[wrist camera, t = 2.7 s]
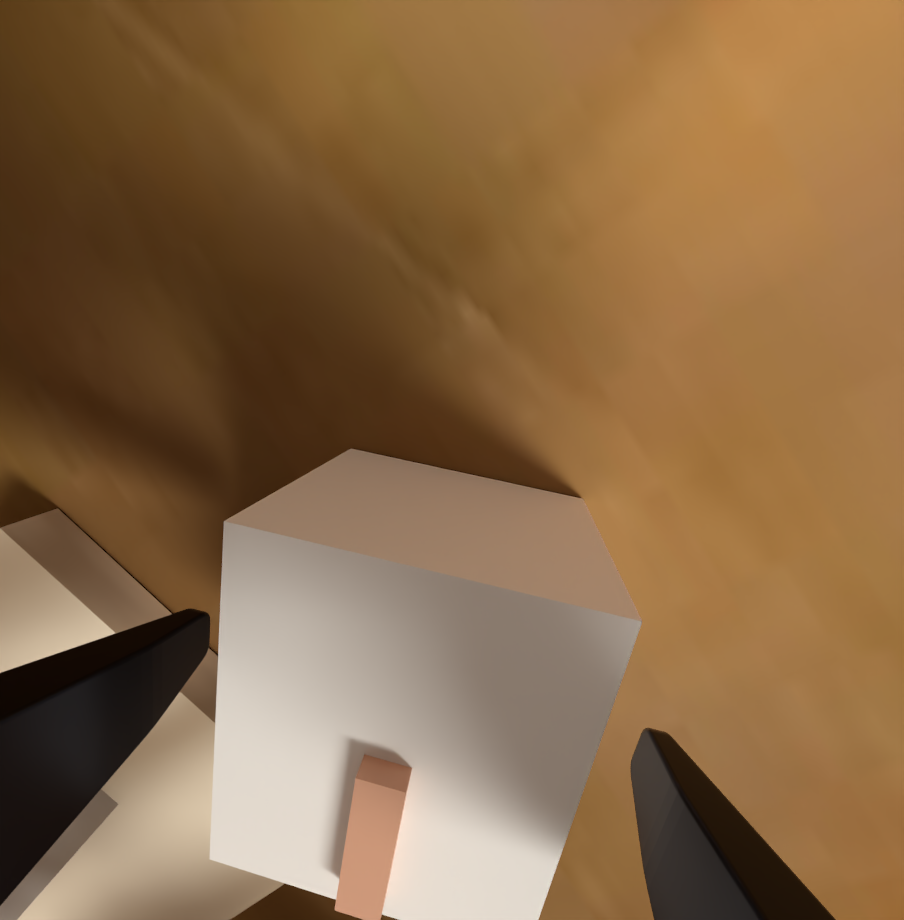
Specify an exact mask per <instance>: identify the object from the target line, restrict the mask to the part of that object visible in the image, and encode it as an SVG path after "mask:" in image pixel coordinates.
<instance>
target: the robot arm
mask: <svg viewBox="0 0 904 920" xmlns="http://www.w3.org/2000/svg"><path fill="white" fill-rule="evenodd" d="M209 638H210V616H209V614H208V613H206V612H203V611H200V610H196V609H186V610H183V611H180V612H177V613H174V614H171V615H168V616H165V617H162V618H159V619H156V620H153V621H150V622H148V623H145V624H142V625H139V626H136V627H133V628H130V629H127V630H124V631H121V632H118V633H115V634H112V635H109V636H107V637H104V638H101V639H98V640H95V641H92V642H89V643H86V644H83V645H80V646H77V647H74V648H71V649H68V650H66V651H63V652H60V653H57V654H54V655H51V656H48V657H45V658H42V659H39V660H36V661H33V662H30V663H27V664H24V665H22V666H19V667H16V668H13V669H10V670H7V671H4V672H1V673H0V906H1V905H2V904H3V902H4V901H5V900H6V899H7V898H8V897H9V895H10V894H11V893H12V892H13V891H14V890H15V889H16V887H17V886H18V885H19V884H20V883H21V882H22V880H23V879H24V878H25V877H26V876H27V875H28V873H29V872H30V871H31V870H32V869H33V868H34V866H35V865H36V864H37V863H38V862H39V861H40V859H41V858H42V857H43V856H44V855H45V854H46V852H47V851H48V850H49V849H50V848H51V847H52V845H53V844H54V843H55V842H56V841H57V840H58V839H59V837H60V836H61V835H62V834H63V833H64V832H65V830H66V829H67V828H68V827H69V826H70V825H71V823H72V822H73V821H74V820H75V819H76V818H77V816H78V815H79V814H80V813H81V812H82V811H83V809H84V808H85V807H86V806H87V805H88V804H89V802H90V801H91V800H92V799H93V798H94V797H95V795H96V794H97V793H98V792H99V791H100V790H101V788H102V787H103V786H104V785H105V784H106V783H107V782H108V780H109V779H110V778H111V777H112V776H113V775H114V773H115V772H116V771H117V770H118V769H119V768H120V766H121V765H122V764H123V763H124V762H125V761H126V759H127V758H128V757H129V756H130V755H131V754H132V752H133V751H134V750H135V749H136V748H137V747H138V745H139V744H140V743H141V742H142V741H143V740H144V738H145V737H146V736H147V735H148V734H149V732H150V731H151V730H152V729H153V728H154V726H155V725H156V724H157V722H158V721H159V720H160V718H161V717H162V716H163V714H164V713H165V712H166V710H167V709H168V707H169V706H170V705H171V703H172V702H173V700H174V699H175V698H176V696H177V695H178V694H179V692H180V691H181V689H182V688H183V687H184V685H185V684H186V682H187V681H188V680H189V678H190V677H191V676H192V674H193V673H194V671H195V670H196V669H197V667H198V666H199V664H200V663H201V662H202V660H203V659H204V657H205V656H206V654H207V651H208V648H209ZM631 780H632V787H633V795H634V803H635V810H636V818H637V825H638V833H639V841H640V848H641V856H642V862H643V869H644V874H645V879H646V884H647V889H648V894H649V898H650V903H651V907H652V912H653V916H654V920H836V919H835V918H834V917H833V916H832V915H831V914H830V913H829V912H828V911H827V909H826V908H825V907H824V906H823V905H822V904H821V903H820V902H819V901H818V899H817V898H816V897H815V896H814V895H813V894H812V893H811V892H810V891H809V889H808V888H807V887H806V886H805V885H804V884H803V883H802V882H801V880H800V879H799V878H798V877H797V876H796V875H795V874H794V873H793V872H792V870H791V869H790V868H789V867H788V866H787V865H786V864H785V863H784V862H783V860H782V859H781V858H780V857H779V856H778V855H777V854H776V853H775V852H774V850H773V849H772V848H771V847H770V846H769V845H768V844H767V843H766V841H765V840H764V839H763V838H762V837H761V836H760V835H759V834H758V833H757V831H756V830H755V829H754V828H753V827H752V826H751V825H750V824H749V823H748V821H747V820H746V819H745V818H744V817H743V816H742V815H741V814H740V813H739V811H738V810H737V809H736V808H735V807H734V806H733V805H732V804H731V802H730V801H729V800H728V799H727V798H726V797H725V796H724V795H723V794H722V792H721V791H720V790H719V789H718V788H717V787H716V786H715V785H714V784H713V782H712V781H711V780H710V779H709V778H708V777H707V776H706V775H705V774H704V772H703V771H702V770H701V769H700V768H699V767H698V766H697V765H696V763H695V762H694V761H693V760H692V759H691V758H690V757H689V756H688V755H687V753H686V752H685V751H684V750H683V749H682V748H681V747H680V746H679V745H678V743H677V742H676V741H675V740H674V739H673V738H672V737H671V736H670V735H669V734H668V733H666V732H663V731H659V730H655V729H651V728H645V729H644V730H643V731H642V733H641V736H640V739H639V741H638V744H637V746H636V749H635V752H634V754H633V757H632V760H631Z"/></svg>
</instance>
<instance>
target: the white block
mask: <svg viewBox="0 0 904 920" xmlns="http://www.w3.org/2000/svg"><path fill="white" fill-rule="evenodd" d="M641 624H642V620H641V618H640V616H639V614H638V612H637V610H636V607H635V605H634V603H633V601H632V599H631V597H630V595H629V593H628V591H627V589H626V587H625V585H624V583H623V581H622V578H621V576H620V574H619V572H618V570H617V568H616V566H615V564H614V562H613V560H612V558H611V556H610V554H609V551H608V549H607V547H606V545H605V543H604V541H603V539H602V537H601V535H600V533H599V531H598V529H597V527H596V525H595V522H594V520H593V518H592V516H591V514H590V512H589V510H588V508H587V506H586V504H585V502H584V500H583V499H582V498H577V497H573V496H568V495H563V494H559V493H554V492H550V491H545V490H540V489H536V488H531V487H526V486H522V485H517V484H513V483H508V482H503V481H499V480H494V479H490V478H485V477H480V476H476V475H471V474H466V473H462V472H457V471H453V470H448V469H443V468H439V467H434V466H430V465H425V464H420V463H416V462H411V461H407V460H402V459H397V458H393V457H388V456H383V455H379V454H374V453H370V452H365V451H360V450H356V449H349V450H347V451H346V452H344V453H342V454H340V455H339V456H337V457H335V458H333V459H332V460H330V461H328V462H326V463H325V464H323V465H321V466H319V467H318V468H316V469H314V470H312V471H311V472H309V473H307V474H305V475H304V476H302V477H300V478H298V479H297V480H295V481H293V482H291V483H290V484H288V485H286V486H284V487H283V488H281V489H279V490H277V491H276V492H274V493H272V494H270V495H269V496H267V497H265V498H263V499H262V500H260V501H258V502H256V503H255V504H253V505H251V506H249V507H248V508H246V509H244V510H242V511H241V512H239V513H237V514H235V515H234V516H232V517H230V518H228V519H227V520H225V521H224V530H223V553H222V577H221V600H220V624H219V647H218V671H217V694H216V717H215V741H214V764H213V788H212V811H211V835H210V858H209V859H210V860H213V861H216V862H219V863H223V864H226V865H229V866H232V867H235V868H238V869H241V870H244V871H248V872H251V873H254V874H257V875H260V876H263V877H266V878H270V879H273V880H276V881H279V882H282V883H285V884H288V885H291V886H295V887H298V888H301V889H304V890H307V891H310V892H313V893H317V894H320V895H323V896H326V897H329V898H332V899H335V900H336V904H335V911H338V912H341V913H344V914H347V915H351V916H354V917H357V918H360V919H363V920H381V915H385V916H389V917H392V918H395V919H398V920H538V919H539V916H540V913H541V910H542V907H543V905H544V902H545V899H546V896H547V893H548V890H549V887H550V884H551V882H552V879H553V876H554V873H555V870H556V867H557V864H558V862H559V859H560V856H561V853H562V850H563V847H564V844H565V841H566V839H567V836H568V833H569V830H570V827H571V824H572V821H573V819H574V816H575V813H576V810H577V807H578V804H579V801H580V798H581V796H582V793H583V790H584V787H585V784H586V781H587V778H588V776H589V773H590V770H591V767H592V764H593V761H594V758H595V755H596V753H597V750H598V747H599V744H600V741H601V738H602V735H603V733H604V730H605V727H606V724H607V721H608V718H609V715H610V712H611V710H612V707H613V704H614V701H615V698H616V695H617V692H618V690H619V687H620V684H621V681H622V678H623V675H624V672H625V670H626V667H627V664H628V661H629V658H630V655H631V652H632V649H633V647H634V644H635V641H636V638H637V635H638V632H639V629H640V627H641Z"/></svg>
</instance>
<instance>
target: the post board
mask: <svg viewBox="0 0 904 920" xmlns="http://www.w3.org/2000/svg"><path fill="white" fill-rule="evenodd" d="M171 614H172V613H171V612H169V611H168V610H167V609H166V608H165V607H164V606H163V605H162V604H161V603H160V602H159V601H158V600H156V599H155V598H154V597H153V596H152V595H151V594H150V593H149V592H148V591H147V590H146V589H145V588H143V587H142V586H141V585H140V584H139V583H138V582H137V581H136V580H135V579H134V578H133V577H132V576H130V575H129V574H128V573H127V572H126V571H125V570H124V569H123V568H122V567H121V566H120V565H119V564H118V563H116V562H115V561H114V560H113V559H112V558H111V557H110V556H109V555H108V554H107V553H106V552H105V551H103V550H102V549H101V548H100V547H99V546H98V545H97V544H96V543H95V542H94V541H93V540H92V539H90V538H89V537H88V536H87V535H86V534H85V533H84V532H83V531H82V530H81V529H80V528H79V527H77V526H76V525H75V524H74V523H73V522H72V521H71V520H70V519H69V518H68V517H67V516H66V515H64V514H63V513H62V512H61V511H60V510H59V509H58V508H57V509H54V510H51V511H48V512H45V513H42V514H40V515H37V516H34V517H31V518H28V519H25V520H22V521H19V522H16V523H13V524H10V525H7V526H4V527H1V528H0V673H1V672H4V671H7V670H10V669H13V668H16V667H19V666H22V665H24V664H27V663H30V662H33V661H36V660H39V659H42V658H45V657H48V656H51V655H54V654H57V653H60V652H63V651H66V650H68V649H71V648H74V647H77V646H80V645H83V644H86V643H89V642H92V641H95V640H98V639H101V638H104V637H107V636H109V635H112V634H115V633H118V632H121V631H124V630H127V629H130V628H133V627H136V626H139V625H142V624H145V623H148V622H150V621H153V620H156V619H159V618H162V617H165V616H168V615H171ZM217 671H218V656H217V655H216V654H215V653H214V652H213V651H212V650H211V649H209V648H208V651H207V654H206V656H205V657H204V659H203V660H202V662H201V663H200V664H199V666H198V667H197V669H196V670H195V671H194V673H193V674H192V676H191V677H190V678H189V680H188V681H187V682H186V684H185V685H184V687H183V688H182V689H181V691H180V692H179V694H178V695H177V696H176V698H175V699H174V700H173V702H172V703H171V705H170V706H169V707H168V709H167V710H166V712H165V713H164V714H163V716H162V717H161V718H160V720H159V721H158V722H157V724H156V725H155V726H154V728H153V729H152V730H151V731H150V732H149V734H148V735H147V736H146V737H145V738H144V740H143V741H142V742H141V743H140V744H139V745H138V747H137V748H136V749H135V750H134V751H133V752H132V754H131V755H130V756H129V757H128V758H127V759H126V761H125V762H124V763H123V764H122V765H121V766H120V768H119V769H118V770H117V771H116V772H115V773H114V775H113V776H112V777H111V778H110V779H109V780H108V782H107V783H106V784H105V785H104V786H103V787H102V788H101V790H100V791H99V792H98V793H97V794H96V795H95V797H94V798H93V799H92V800H91V801H90V802H89V804H88V805H87V806H86V807H85V808H84V809H83V811H82V812H81V813H80V814H79V815H78V816H77V818H76V819H75V820H74V821H73V822H72V823H71V825H70V826H69V827H68V828H67V829H66V830H65V832H64V833H63V834H62V835H61V836H60V837H59V839H58V840H57V841H56V842H55V843H54V844H53V845H52V847H51V848H50V849H49V850H48V851H47V852H46V854H45V855H44V856H43V857H42V858H41V859H40V861H39V862H38V863H37V864H36V865H35V866H34V868H33V869H32V870H31V871H30V872H29V873H28V875H27V876H26V877H25V878H24V879H23V880H22V882H21V883H20V884H19V885H18V886H17V887H16V889H15V890H14V891H13V892H12V893H11V894H10V895H9V897H8V898H7V899H6V900H5V901H4V902H3V904H2V905H1V906H0V920H230V919H232V918H233V917H235V916H236V915H238V914H239V913H241V912H242V911H244V910H245V909H247V908H248V907H250V906H252V905H253V904H255V903H256V902H258V901H259V900H261V899H262V898H264V897H265V896H267V895H268V894H270V893H271V892H273V891H275V890H276V889H278V888H279V887H281V886H282V885H284V884H285V883H282V882H279V881H276V880H273V879H270V878H266V877H263V876H260V875H257V874H254V873H251V872H248V871H244V870H241V869H238V868H235V867H232V866H229V865H226V864H223V863H219V862H216V861H213V860H210V859H209V858H210V835H211V811H212V788H213V764H214V741H215V717H216V694H217Z"/></svg>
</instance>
